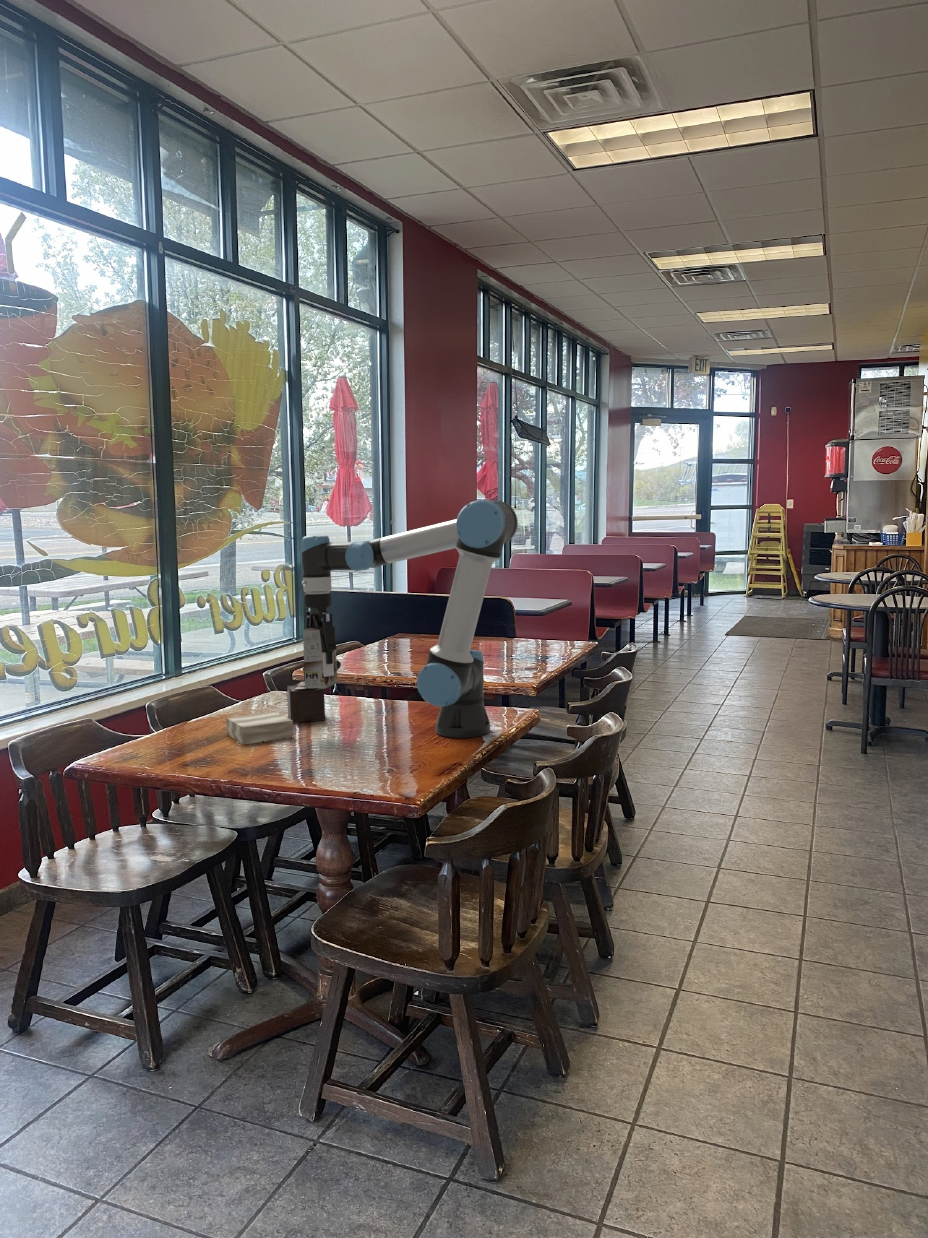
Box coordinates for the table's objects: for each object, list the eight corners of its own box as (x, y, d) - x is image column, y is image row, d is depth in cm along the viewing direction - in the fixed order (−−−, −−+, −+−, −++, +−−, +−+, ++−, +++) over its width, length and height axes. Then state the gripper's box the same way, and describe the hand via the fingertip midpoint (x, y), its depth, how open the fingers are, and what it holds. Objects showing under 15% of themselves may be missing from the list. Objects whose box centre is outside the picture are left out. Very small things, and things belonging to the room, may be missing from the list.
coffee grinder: (290, 723, 264) (288, 662, 262) (287, 716, 274) (285, 657, 272) (343, 720, 268) (341, 659, 266) (338, 712, 278) (336, 654, 276)
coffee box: (327, 688, 243) (324, 629, 241) (304, 688, 244) (301, 629, 243) (338, 682, 252) (336, 625, 250) (316, 682, 253) (314, 625, 252)
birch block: (293, 738, 247) (292, 720, 246) (243, 745, 240) (242, 727, 239) (275, 729, 259) (274, 711, 258) (227, 735, 252) (226, 718, 251)
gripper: (290, 591, 254) (293, 669, 256) (319, 595, 234) (323, 680, 236) (315, 589, 257) (318, 666, 260) (346, 594, 237) (350, 677, 240)
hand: (321, 673), depth 248 cm, fingers closed on coffee box, 10 cm apart
